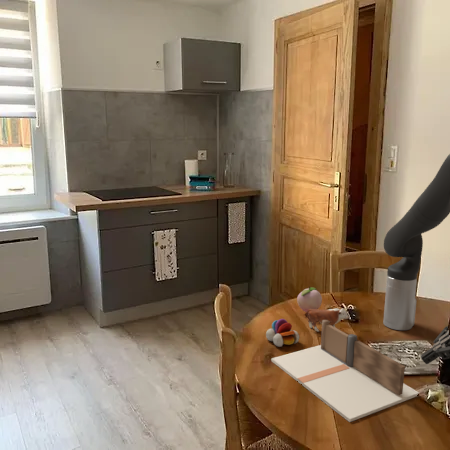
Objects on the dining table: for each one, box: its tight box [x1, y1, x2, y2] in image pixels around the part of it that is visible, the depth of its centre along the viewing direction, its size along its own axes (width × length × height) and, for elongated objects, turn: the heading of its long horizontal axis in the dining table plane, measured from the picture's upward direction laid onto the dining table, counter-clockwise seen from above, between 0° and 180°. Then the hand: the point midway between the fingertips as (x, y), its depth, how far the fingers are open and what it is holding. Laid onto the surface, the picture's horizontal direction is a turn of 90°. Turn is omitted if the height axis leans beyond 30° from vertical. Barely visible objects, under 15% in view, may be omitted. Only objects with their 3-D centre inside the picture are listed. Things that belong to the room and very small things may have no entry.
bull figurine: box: [306, 307, 349, 333], centre depth 155 cm, size 4×13×8 cm, turn 78°
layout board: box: [270, 320, 420, 423], centre depth 127 cm, size 23×32×10 cm
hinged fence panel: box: [353, 339, 406, 395], centre depth 123 cm, size 16×1×8 cm, turn 28°
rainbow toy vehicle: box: [265, 318, 300, 347], centre depth 148 cm, size 8×10×7 cm
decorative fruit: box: [296, 286, 323, 313], centre depth 169 cm, size 9×8×10 cm
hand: (423, 360), depth 120 cm, fingers closed
